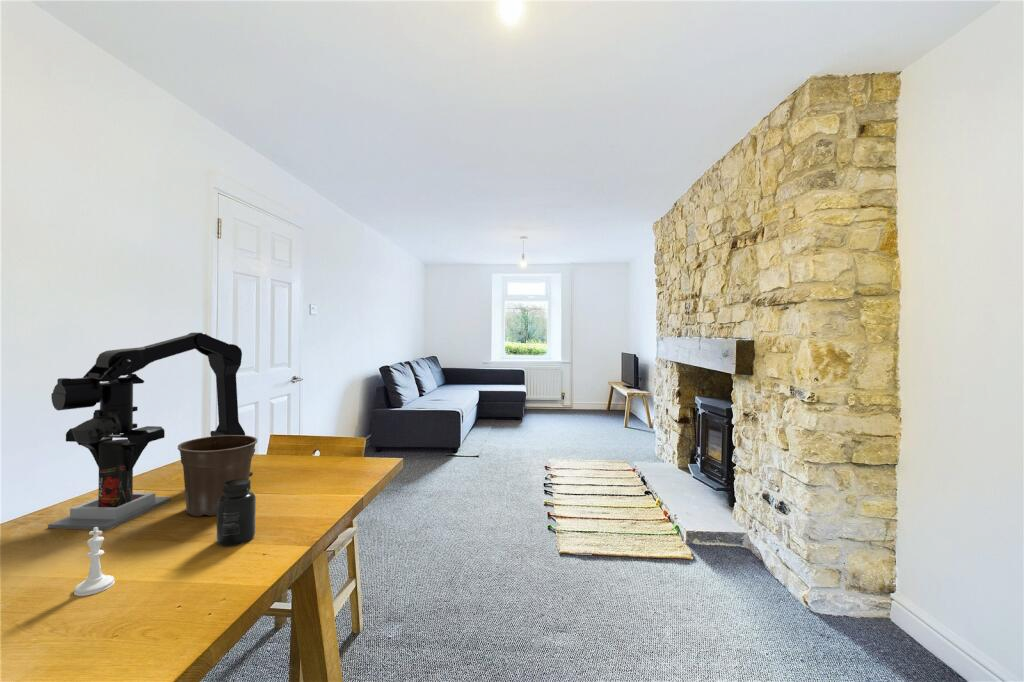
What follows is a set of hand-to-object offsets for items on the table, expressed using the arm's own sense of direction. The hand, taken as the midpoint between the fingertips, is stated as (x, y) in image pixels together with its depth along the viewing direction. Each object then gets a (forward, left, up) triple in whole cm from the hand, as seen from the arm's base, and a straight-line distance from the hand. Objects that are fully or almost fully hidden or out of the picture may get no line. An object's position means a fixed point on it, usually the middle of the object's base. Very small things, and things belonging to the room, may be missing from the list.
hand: (116, 470), depth 102 cm
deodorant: (0, 0, -9) cm, 9 cm away
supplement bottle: (-36, +11, -10) cm, 39 cm away
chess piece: (-24, +29, -10) cm, 39 cm away
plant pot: (-21, -5, -10) cm, 24 cm away
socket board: (0, 0, -10) cm, 10 cm away
